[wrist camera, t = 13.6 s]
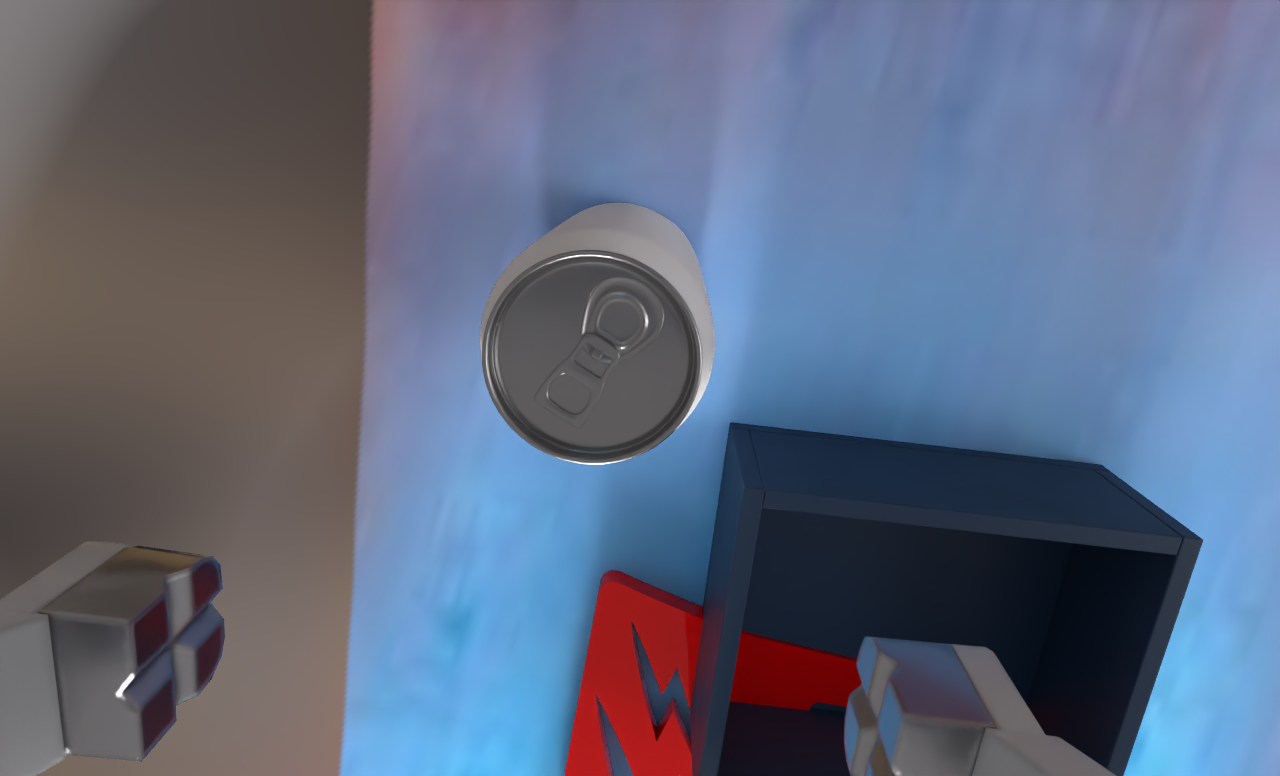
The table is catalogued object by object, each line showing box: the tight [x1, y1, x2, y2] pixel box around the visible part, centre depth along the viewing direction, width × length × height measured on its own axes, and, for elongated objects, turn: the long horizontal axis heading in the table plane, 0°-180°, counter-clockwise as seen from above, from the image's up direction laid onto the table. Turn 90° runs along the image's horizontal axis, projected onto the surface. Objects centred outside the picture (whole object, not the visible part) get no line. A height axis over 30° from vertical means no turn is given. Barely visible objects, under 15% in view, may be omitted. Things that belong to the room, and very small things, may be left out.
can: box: [480, 203, 715, 464], centre depth 26 cm, size 6×6×12 cm
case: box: [690, 423, 1203, 776], centre depth 32 cm, size 13×15×7 cm
